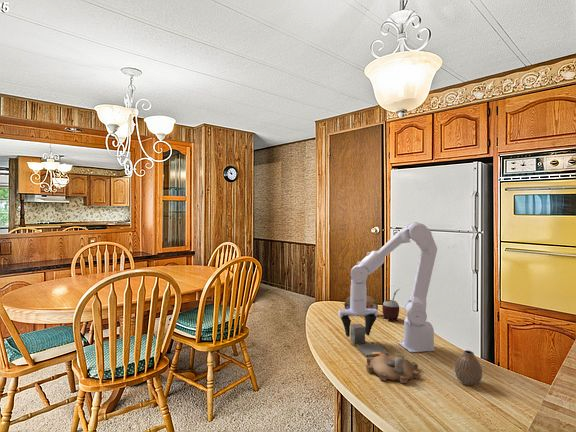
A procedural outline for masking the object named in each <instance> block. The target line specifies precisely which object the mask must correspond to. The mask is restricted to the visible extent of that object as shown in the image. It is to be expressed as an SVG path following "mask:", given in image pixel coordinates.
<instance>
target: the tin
mask: <svg viewBox="0 0 576 432" xmlns="http://www.w3.org/2000/svg"><path fill="white" fill-rule="evenodd" d="M343 307H344V310H345V309H350V295H349V296H348V297H347V298H346V299H345V300H344V306H343ZM366 308H368V309H376V310H379V304H378V301H377V300H376V299H375V298H374V297H372V296H370V295H366Z"/></svg>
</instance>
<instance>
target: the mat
mask: <svg viewBox="0 0 576 432" xmlns="http://www.w3.org/2000/svg"><path fill="white" fill-rule="evenodd" d="M356 348H357V349H358V350H359V351H360V352H361V353H362V355H364V356H365V358H368V357H376V356H379V354H385V355H389V352H388V351H387V350H386V349H385V348H384V347H382V346H381V345H380V344H379V343H367V344H366V343H365V344H356ZM389 356H390V355H389Z"/></svg>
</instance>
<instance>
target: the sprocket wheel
mask: <svg viewBox="0 0 576 432" xmlns="http://www.w3.org/2000/svg"><path fill="white" fill-rule="evenodd" d="M404 357H405V356H402V355H396V356H395V355H385V354H379V356H369V357H366V363H367V364H366V371H367V373H373V374H375V375H376V376H378V377H379V378H378V379H379V380H381V381H385V382H386V381H387V380H389V381H390V380H391V381H399V383H401V384H407V383H408V381H409V380H411V379H413V378H414V379H417V380H418V379H419V378H420V375H421V372H420V370H419V364H418V363H416V362H415V361H414V362H413V361H409V360H408V359H405V358H404ZM418 370H419V371H418Z"/></svg>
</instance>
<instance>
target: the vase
mask: <svg viewBox="0 0 576 432" xmlns="http://www.w3.org/2000/svg"><path fill="white" fill-rule="evenodd" d="M455 360H456V361H455V363H454V374H455V376H456V378H457V379H458V381H459V382H460V383H461V384H463V385H465V386H469V387H474V386H476V385H478V384H479V383H480V382H481V380H482V378H483V369H482V364H481V363H480V361H479V360H478V358H477V357H476V355H475V353H474V352H473V351H472V350H468V349H467V350H463V352H462V354H461V355H459V356H458V357H457V358H456V359H455Z"/></svg>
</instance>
